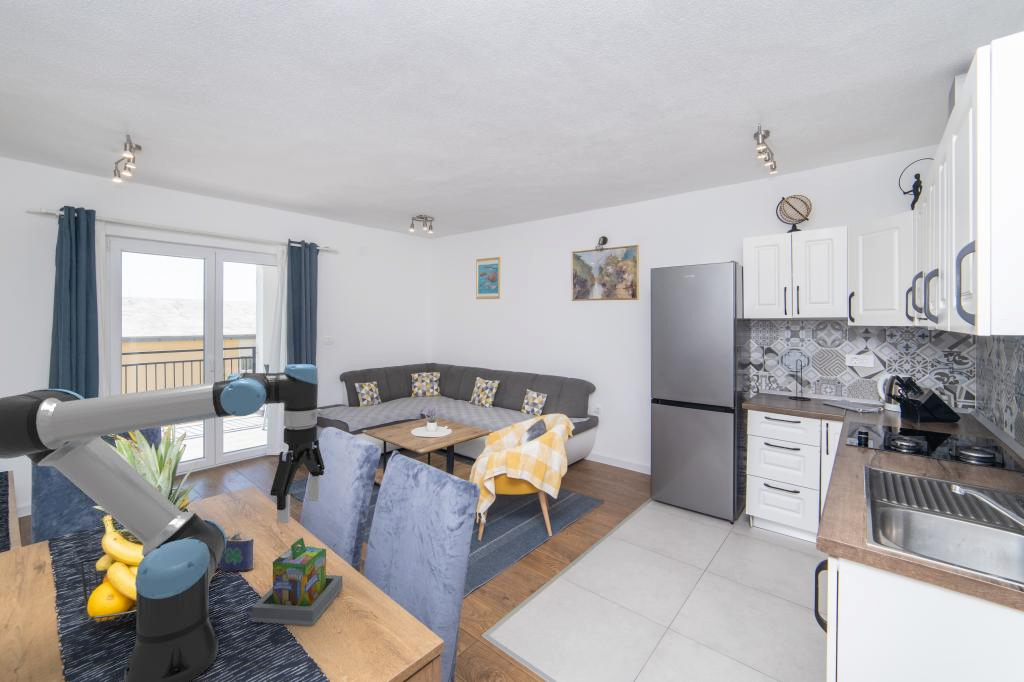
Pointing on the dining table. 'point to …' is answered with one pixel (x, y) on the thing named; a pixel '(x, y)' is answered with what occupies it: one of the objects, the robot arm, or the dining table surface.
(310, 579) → the chalk box
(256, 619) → the grey square tray
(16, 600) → the dining table surface
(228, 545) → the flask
